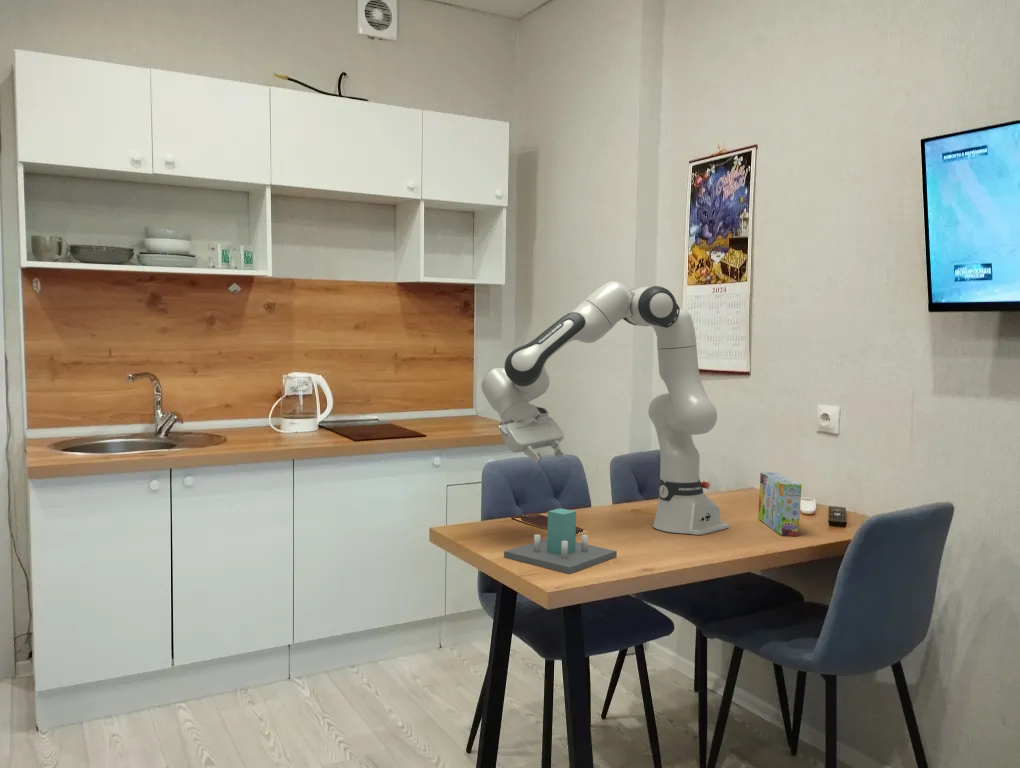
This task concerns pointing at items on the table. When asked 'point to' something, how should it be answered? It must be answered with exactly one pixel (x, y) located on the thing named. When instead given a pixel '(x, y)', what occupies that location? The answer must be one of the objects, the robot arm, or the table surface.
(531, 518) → the wooden tablet
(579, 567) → the peg board
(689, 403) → the robot arm
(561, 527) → the teal post
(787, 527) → the snack box
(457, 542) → the table surface
